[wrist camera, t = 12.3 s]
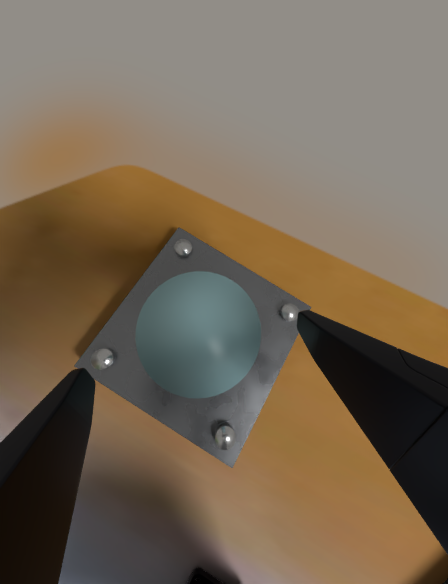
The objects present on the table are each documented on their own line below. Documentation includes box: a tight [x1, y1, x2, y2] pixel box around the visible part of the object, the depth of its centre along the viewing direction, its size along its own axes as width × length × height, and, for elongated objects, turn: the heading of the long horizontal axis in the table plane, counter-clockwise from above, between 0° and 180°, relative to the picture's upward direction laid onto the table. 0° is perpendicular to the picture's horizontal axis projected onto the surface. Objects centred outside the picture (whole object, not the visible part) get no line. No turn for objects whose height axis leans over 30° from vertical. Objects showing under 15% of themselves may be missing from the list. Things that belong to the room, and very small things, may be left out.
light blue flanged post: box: [136, 271, 261, 399], centre depth 13 cm, size 6×6×10 cm
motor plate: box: [75, 228, 311, 468], centre depth 19 cm, size 15×15×2 cm
